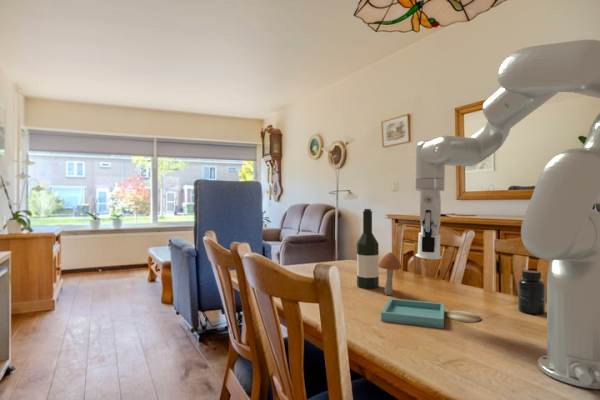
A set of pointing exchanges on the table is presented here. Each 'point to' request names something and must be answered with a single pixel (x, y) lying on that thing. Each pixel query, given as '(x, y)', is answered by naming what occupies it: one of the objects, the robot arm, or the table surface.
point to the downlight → (436, 250)
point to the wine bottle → (367, 255)
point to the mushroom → (389, 270)
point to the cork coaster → (463, 316)
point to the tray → (414, 313)
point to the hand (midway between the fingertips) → (428, 249)
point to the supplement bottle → (531, 293)
